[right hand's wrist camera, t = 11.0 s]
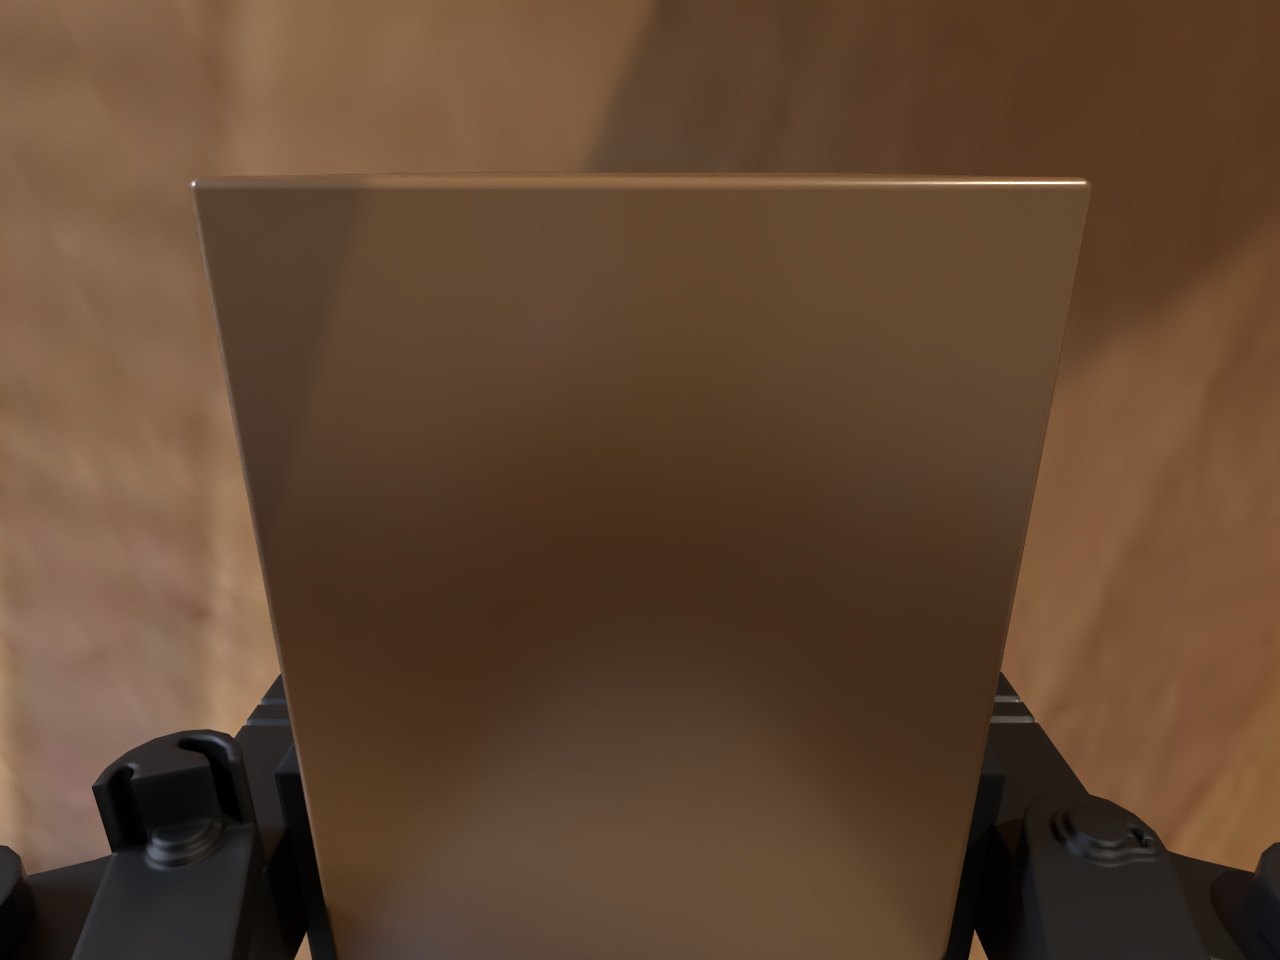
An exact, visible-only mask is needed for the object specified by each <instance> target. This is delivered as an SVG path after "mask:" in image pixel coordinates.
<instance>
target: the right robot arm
mask: <svg viewBox="0 0 1280 960" xmlns="http://www.w3.org/2000/svg"><path fill="white" fill-rule="evenodd" d="M92 790H93V793H94V796H95V799H96V803H97V806H98V809H99V812H100V815H101V819H102V822H103V825H104V828H105V832H106V835H107V838H108V841H109V844H110V848H111V851H112V854H111V855H109V856H106V857H102V858H99V859H96V860H92V861H88V862H84V863H80V864H76V865H71V866H67V867H63V868H59V869H54V870H50V871H46V872H42V873H38V874H33V875H29V876H27V874H26V871H25V869H24V866H23V863H22V860H21V858H20V856H19V855H18V854H16V853H15V852H14V851H13V850H11V849H10V848H9V847H8V846H2V845H0V960H294V959H295V957H296V954H297V952H298V950H299V947H300V945H301V943H302V941H303V938H304V936H305V934H306V931H307V936H308V941H309V946H310V951H311V956H312V960H336V959H335V954H334V949H333V943H332V938H331V933H330V928H329V922H328V917H327V912H326V907H325V901H324V896H323V891H322V886H321V880H320V875H319V870H318V865H317V859H316V854H315V849H314V843H313V838H312V833H311V828H310V822H309V817H308V812H307V807H306V801H305V796H304V791H303V786H302V780H301V775H300V770H299V765H298V759H297V754H296V749H295V743H294V738H293V733H292V728H291V722H290V717H289V712H288V707H287V701H286V696H285V691H284V686H283V680H282V675H281V674H280V675H279V676H278V678H277V679H276V680H275V682H274V683H273V685H272V686H271V687H270V689H269V690H268V692H267V693H266V694H265V696H264V697H263V699H262V703H261V705H258V706H257V707H256V708H255V710H254V711H253V713H252V714H251V715H250V717H249V718H248V720H247V725H246V726H243V727H242V728H241V729H240V731H239V732H238V734H237V735H236V736H235V738H233V737H231V736H230V735H229V734H227V733H222V732H218V731H214V730H209V729H205V730H190V731H181V732H177V733H173V734H170V735H166V736H162V737H159V738H155V739H153V740H151V741H149V742H147V743H145V744H143V745H140V746H138V747H136V748H134V749H132V750H130V751H128V752H127V753H125V754H124V755H123V756H121V757H120V758H119V759H117V760H116V761H115V762H113V763H112V764H111V765H109V766H108V767H107V768H105V770H104V771H103V773H102V774H101V775H100V777H99V778H98V779H97V781H96V782H95V783H94V785H93V786H92ZM974 929H975V931H976V933H977V935H978V937H979V940H980V942H981V944H982V947H983V949H984V951H985V953H986V956H987V958H988V960H1280V842H1278V843H1274V844H1273V845H1271V846H1270V847H1269V848H1268V849H1267V850H1265V851H1264V852H1263V853H1262V854H1261V857H1260V860H1259V863H1258V865H1257V868H1256V871H1255V873H1253V872H1249V871H1244V870H1240V869H1236V868H1232V867H1228V866H1223V865H1219V864H1215V863H1211V862H1206V861H1202V860H1198V859H1194V858H1189V857H1186V856H1183V855H1179V854H1176V853H1173V852H1170V851H1167V849H1166V848H1165V846H1164V845H1163V843H1162V842H1161V840H1160V839H1159V837H1158V835H1157V834H1156V832H1155V831H1153V830H1152V829H1151V828H1150V827H1149V826H1148V825H1146V824H1145V823H1144V822H1143V821H1142V820H1141V819H1139V818H1138V817H1137V816H1136V815H1135V814H1133V813H1131V812H1129V811H1128V810H1126V809H1124V808H1122V807H1120V806H1118V805H1116V804H1115V803H1113V802H1111V801H1109V800H1106V799H1103V798H1100V797H1096V796H1093V795H1090V794H1089V793H1088V792H1087V791H1086V789H1085V788H1084V786H1083V785H1082V784H1081V782H1080V781H1079V779H1078V778H1077V777H1076V775H1075V774H1074V772H1073V771H1072V770H1071V768H1070V767H1069V765H1068V764H1067V763H1066V761H1065V760H1064V758H1063V757H1062V756H1061V754H1060V753H1059V751H1058V750H1057V749H1056V747H1055V746H1054V744H1053V743H1052V742H1051V740H1050V739H1049V738H1048V736H1047V735H1046V733H1045V732H1044V731H1043V729H1042V728H1041V726H1040V725H1039V724H1038V723H1035V721H1034V717H1033V715H1032V714H1031V712H1030V711H1029V710H1028V708H1027V707H1026V705H1025V704H1024V703H1023V702H1020V697H1019V696H1018V694H1017V693H1016V691H1015V690H1014V689H1013V687H1012V686H1011V685H1010V683H1009V682H1008V680H1007V679H1006V678H1005V676H1004V675H1003V673H1002V672H1000V675H999V680H998V685H997V690H996V696H995V701H994V706H993V711H992V716H991V722H990V727H989V732H988V737H987V743H986V748H985V753H984V758H983V764H982V769H981V774H980V779H979V784H978V790H977V795H976V800H975V805H974V811H973V816H972V821H971V826H970V831H969V837H968V842H967V847H966V852H965V858H964V863H963V868H962V873H961V878H960V884H959V889H958V894H957V899H956V905H955V910H954V915H953V920H952V926H951V931H950V936H949V941H948V946H947V952H946V957H945V960H968V959H969V954H970V949H971V944H972V939H973V934H974Z"/></svg>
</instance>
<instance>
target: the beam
mask: <svg viewBox="0 0 1280 960" xmlns="http://www.w3.org/2000/svg"><path fill="white" fill-rule="evenodd" d="M189 191H190V196H191V201H192V207H193V212H194V217H195V222H196V228H197V233H198V238H199V243H200V249H201V254H202V259H203V264H204V270H205V275H206V280H207V286H208V291H209V296H210V301H211V307H212V312H213V317H214V322H215V328H216V333H217V338H218V343H219V349H220V354H221V359H222V364H223V370H224V375H225V380H226V386H227V391H228V396H229V401H230V407H231V412H232V417H233V422H234V428H235V433H236V438H237V443H238V449H239V454H240V459H241V465H242V470H243V475H244V480H245V486H246V491H247V496H248V501H249V507H250V512H251V517H252V522H253V528H254V533H255V538H256V543H257V549H258V554H259V559H260V565H261V570H262V575H263V580H264V586H265V591H266V596H267V601H268V607H269V612H270V617H271V622H272V628H273V633H274V638H275V643H276V649H277V654H278V659H279V665H280V670H281V675H282V680H283V686H284V691H285V696H286V701H287V707H288V712H289V717H290V722H291V728H292V733H293V738H294V743H295V749H296V754H297V759H298V765H299V770H300V775H301V780H302V786H303V791H304V796H305V801H306V807H307V812H308V817H309V822H310V828H311V833H312V838H313V843H314V849H315V854H316V859H317V865H318V870H319V875H320V880H321V886H322V891H323V896H324V901H325V907H326V912H327V917H328V922H329V928H330V933H331V938H332V943H333V949H334V954H335V959H336V960H945V957H946V952H947V946H948V941H949V936H950V931H951V926H952V920H953V915H954V910H955V905H956V899H957V894H958V889H959V884H960V878H961V873H962V868H963V863H964V858H965V852H966V847H967V842H968V837H969V831H970V826H971V821H972V816H973V811H974V805H975V800H976V795H977V790H978V784H979V779H980V774H981V769H982V764H983V758H984V753H985V748H986V743H987V737H988V732H989V727H990V722H991V716H992V711H993V706H994V701H995V696H996V690H997V685H998V680H999V675H1000V669H1001V664H1002V659H1003V654H1004V649H1005V643H1006V638H1007V633H1008V628H1009V622H1010V617H1011V612H1012V607H1013V601H1014V596H1015V591H1016V586H1017V581H1018V575H1019V570H1020V565H1021V560H1022V554H1023V549H1024V544H1025V539H1026V534H1027V528H1028V523H1029V518H1030V513H1031V507H1032V502H1033V497H1034V492H1035V487H1036V481H1037V476H1038V471H1039V466H1040V460H1041V455H1042V450H1043V445H1044V439H1045V434H1046V429H1047V424H1048V419H1049V413H1050V408H1051V403H1052V398H1053V392H1054V387H1055V382H1056V377H1057V372H1058V366H1059V361H1060V356H1061V351H1062V345H1063V340H1064V335H1065V330H1066V325H1067V319H1068V314H1069V309H1070V304H1071V298H1072V293H1073V288H1074V283H1075V277H1076V272H1077V267H1078V262H1079V257H1080V251H1081V246H1082V241H1083V236H1084V230H1085V225H1086V220H1087V215H1088V210H1089V204H1090V199H1091V194H1092V186H1091V182H1090V181H1088V180H1086V179H1084V178H1082V177H1040V176H985V175H929V174H873V173H614V172H455V173H397V174H339V175H281V176H222V177H199V178H197V179H195V180H193V181H191V182H190V190H189Z"/></svg>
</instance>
